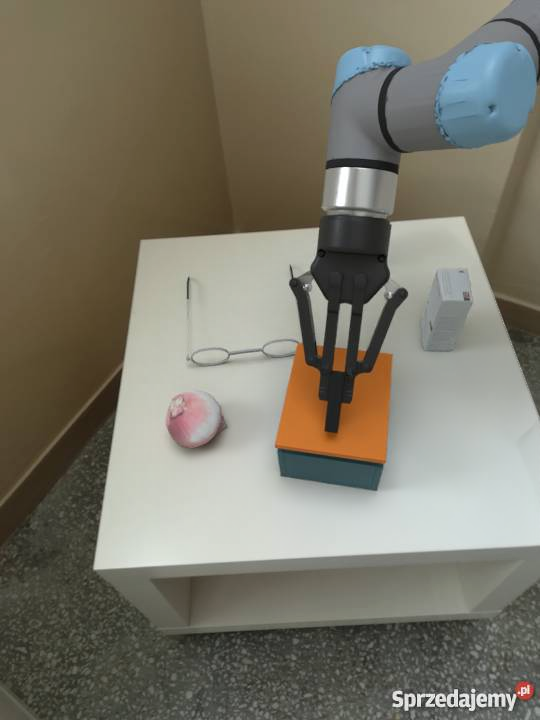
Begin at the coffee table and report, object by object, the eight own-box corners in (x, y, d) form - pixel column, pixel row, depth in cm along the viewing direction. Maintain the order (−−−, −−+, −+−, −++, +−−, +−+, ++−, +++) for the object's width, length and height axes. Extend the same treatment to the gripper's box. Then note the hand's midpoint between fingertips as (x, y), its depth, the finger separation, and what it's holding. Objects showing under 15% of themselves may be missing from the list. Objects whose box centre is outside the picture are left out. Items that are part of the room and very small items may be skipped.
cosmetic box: (419, 320, 83) (434, 265, 73) (449, 320, 82) (467, 265, 72) (423, 353, 79) (439, 300, 69) (454, 353, 79) (474, 300, 69)
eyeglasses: (188, 369, 80) (183, 354, 77) (188, 280, 91) (183, 263, 88) (306, 355, 80) (305, 339, 77) (291, 267, 91) (290, 250, 88)
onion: (181, 401, 78) (169, 375, 72) (232, 407, 76) (225, 381, 70) (166, 451, 73) (152, 428, 67) (220, 459, 72) (211, 436, 66)
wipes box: (376, 491, 68) (383, 467, 62) (280, 476, 70) (276, 451, 64) (385, 387, 76) (391, 357, 70) (299, 377, 78) (297, 346, 72)
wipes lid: (385, 464, 59) (386, 460, 59) (275, 448, 61) (274, 444, 61) (391, 357, 70) (392, 353, 69) (297, 346, 72) (297, 342, 71)
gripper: (416, 223, 58) (388, 426, 63) (299, 214, 60) (281, 411, 65) (423, 218, 51) (390, 448, 56) (289, 208, 53) (270, 431, 58)
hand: (331, 428), depth 61 cm, fingers closed
